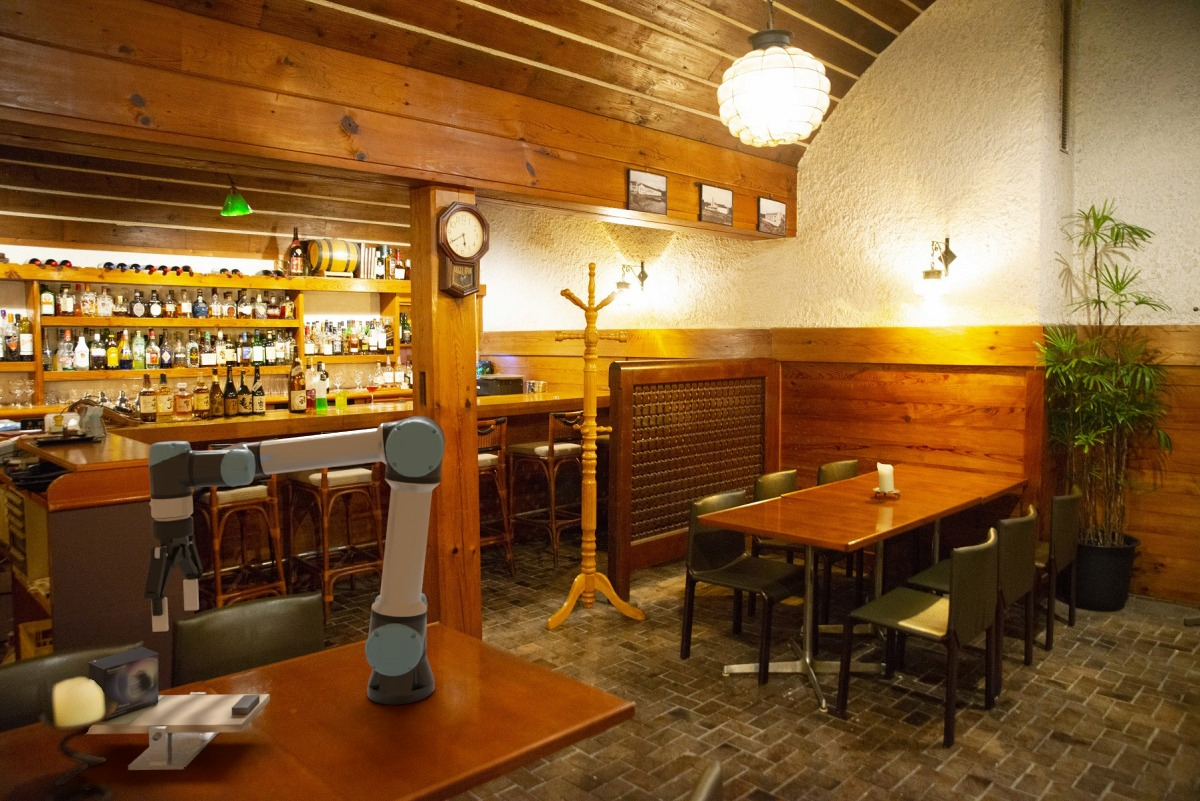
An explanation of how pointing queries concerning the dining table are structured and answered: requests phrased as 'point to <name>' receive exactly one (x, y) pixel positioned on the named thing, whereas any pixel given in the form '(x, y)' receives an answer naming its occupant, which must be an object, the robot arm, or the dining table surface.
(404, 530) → the robot arm
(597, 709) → the dining table surface
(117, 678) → the small box
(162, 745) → the pivot stand
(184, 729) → the balance beam
